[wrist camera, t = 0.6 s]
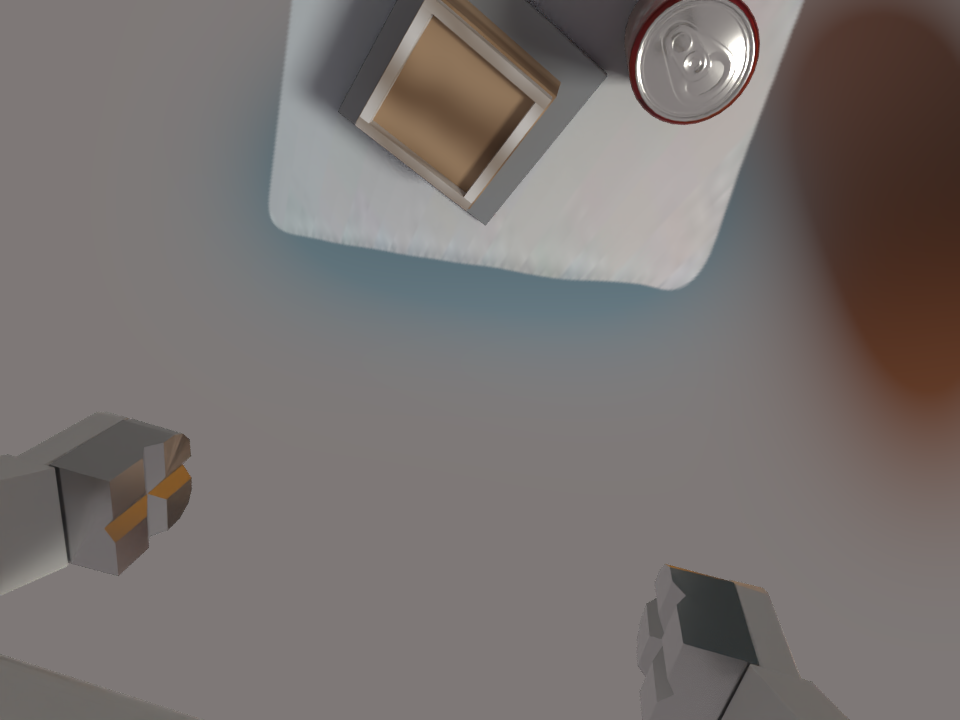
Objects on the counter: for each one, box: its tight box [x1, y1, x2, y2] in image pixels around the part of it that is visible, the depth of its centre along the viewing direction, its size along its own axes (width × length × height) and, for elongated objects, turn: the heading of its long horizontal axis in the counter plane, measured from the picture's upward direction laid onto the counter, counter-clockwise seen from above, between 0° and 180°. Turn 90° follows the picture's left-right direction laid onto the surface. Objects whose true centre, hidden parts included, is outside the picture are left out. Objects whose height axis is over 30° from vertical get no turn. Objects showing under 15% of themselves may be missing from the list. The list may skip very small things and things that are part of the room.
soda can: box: [624, 0, 760, 125], centre depth 38 cm, size 7×7×12 cm
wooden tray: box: [355, 0, 561, 211], centre depth 45 cm, size 11×11×6 cm
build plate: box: [338, 0, 607, 225], centre depth 47 cm, size 16×16×1 cm
